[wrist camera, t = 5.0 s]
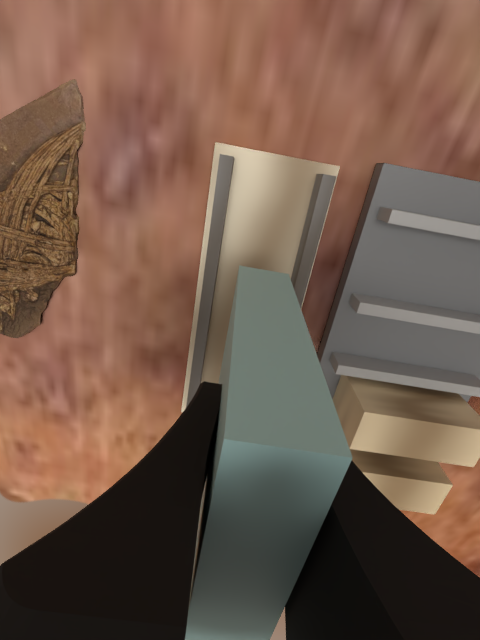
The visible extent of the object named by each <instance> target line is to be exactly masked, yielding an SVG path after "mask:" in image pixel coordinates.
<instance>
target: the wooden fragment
mask: <svg viewBox="0 0 480 640" xmlns="http://www.w3.org/2000/svg"><path fill="white" fill-rule="evenodd" d="M83 109H84V107H83V98H82V95H81V93H80V91H79V88H78V85H77V81H76V80H75V79H73V80H71V81H69V82H67V83H65V84H63V85H61V86H59V87H58V88H56V89H54V90H52V91H51V92H49V93H47V94H46V95H44V96H42V97H40V98H38V99H37V100H34V101H33V102H30V103H29V104H27V105H25V106H23V107H21V108H19V109H18V110H16V111H14V112H13V113H11V114H9V115H7V116H5V117H4V118H2V119H1V120H0V334H3V335H6V336H9V337H13V338H19V337H22V336H23V335H25V334H27V333H29V332H30V331H32V330H33V329H34V328H35V327H37V326H38V325H40V323H41V321H40V318H41V313H42V312H43V311H44V310H45V308H46V306H47V302H48V300H49V298H50V296H51V293H52V291H53V290H54V289H56V288H57V286H58V285H59V283H60V281H61V280H62V279H63V278H64V277H66V276H73V275H75V273H76V263H77V259H78V248H77V240H78V234H79V225H78V224H79V217H78V216H77V214H76V207H77V204H78V189H77V187H78V183H77V178H78V174H77V166H78V157H77V149H78V148H79V146H80V145H81V144H82V143H83V135H84V131H85V122H84V111H83Z"/></svg>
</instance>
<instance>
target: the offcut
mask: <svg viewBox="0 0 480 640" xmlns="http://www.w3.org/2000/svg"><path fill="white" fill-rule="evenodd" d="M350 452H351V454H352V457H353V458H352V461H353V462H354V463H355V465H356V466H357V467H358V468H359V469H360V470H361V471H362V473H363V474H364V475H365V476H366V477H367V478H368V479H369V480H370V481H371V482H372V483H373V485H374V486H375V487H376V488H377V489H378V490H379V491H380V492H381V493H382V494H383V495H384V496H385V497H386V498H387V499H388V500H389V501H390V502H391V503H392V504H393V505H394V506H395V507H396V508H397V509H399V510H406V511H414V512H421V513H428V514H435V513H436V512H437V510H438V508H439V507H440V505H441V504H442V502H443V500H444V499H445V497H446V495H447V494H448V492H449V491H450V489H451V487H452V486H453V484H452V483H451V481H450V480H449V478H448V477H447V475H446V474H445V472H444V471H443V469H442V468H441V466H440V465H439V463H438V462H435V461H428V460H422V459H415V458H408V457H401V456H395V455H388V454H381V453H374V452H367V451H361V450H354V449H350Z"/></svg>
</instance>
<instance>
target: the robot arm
mask: <svg viewBox="0 0 480 640" xmlns="http://www.w3.org/2000/svg"><path fill="white" fill-rule="evenodd" d="M221 391H222V384H218V383H211V382H205V381H204V382H202V383H200V385H199V387H198V389H197V391H196V393H195V395H194V397H193V398H192V400H191V401H190V403H189V404H188V406H187V407H186V409H185V410H184V412H183V413H182V414H181V416H180V417H179V418H178V420H177V421H176V422H175V423H174V425H173V426H172V427H171V428H170V429H169V431H168V432H167V433H166V434H165V435H164V436H163V438H162V439H161V440H160V441H159V442H158V443H157V444H156V445H155V447H154V448H153V449H152V450H151V451H150V452H149V453H148V454H147V455H146V456H145V457H144V458H143V459H142V460H141V461H140V462H139V463H138V464H137V465H136V466H134V467H133V468H132V469H131V470H130V471H129V472H128V473H127V474H126V475H124V476H123V477H122V478H121V479H120V480H119V481H118V482H116V483H115V484H114V485H113V486H112V487H111V488H109V489H108V490H107V491H106V492H104V493H103V494H102V495H101V496H99V497H98V498H97V499H95V500H94V501H93V502H91V503H90V504H89V505H87V506H86V507H85V508H84V509H82V510H81V511H80V512H78V513H77V514H76V515H74V516H73V517H72V518H70V519H69V520H68V521H66V522H65V523H63V524H62V525H60V526H59V527H58V528H56V529H55V530H53V531H52V532H50V533H48V534H47V535H46V536H44V537H42V538H41V539H39V540H38V541H36V542H35V543H33V544H32V545H30V546H29V547H27V548H25V549H24V550H23V551H21V552H19V553H18V554H16V555H15V556H13V557H12V558H10V559H8V560H7V561H5V562H4V563H2V564H1V566H0V640H185V635H186V627H187V618H188V609H189V600H190V591H191V583H192V574H193V565H194V557H195V548H196V540H197V532H198V523H199V515H200V507H201V499H202V495H203V491H204V486H205V482H206V478H207V473H208V468H209V462H210V457H211V452H212V446H213V441H214V435H215V430H216V425H217V419H218V414H219V408H220V403H221ZM285 617H286V640H480V578H479V577H478V576H477V575H475V574H474V573H473V572H472V571H470V570H469V569H468V568H466V567H465V566H464V565H463V564H461V563H460V562H459V561H458V560H456V559H455V558H454V557H452V556H451V555H450V554H449V553H448V552H446V551H445V550H444V549H443V548H442V547H440V546H439V545H438V544H437V543H435V542H434V541H433V540H432V539H431V538H430V537H428V536H427V535H426V534H425V533H424V532H423V531H422V530H421V529H419V528H418V527H417V526H416V525H415V524H414V523H413V522H412V521H410V520H409V519H408V518H407V517H406V516H405V515H404V514H403V513H402V512H401V511H400V510H399V509H397V508H396V507H395V506H394V505H393V504H392V503H391V502H390V501H389V500H388V499H387V498H386V497H385V496H384V495H383V494H382V493H381V492H380V491H379V490H378V489H377V488H376V487H375V486H374V485H373V483H372V482H371V481H370V480H369V479H368V478H367V477H366V476H365V475H364V474H363V473H362V471H361V470H360V469H359V468H358V467H357V466H356V465H355V463H354V462H353V461H352V460H351V463H350V465H349V467H348V469H347V471H346V474H345V476H344V478H343V480H342V482H341V485H340V487H339V489H338V491H337V493H336V495H335V498H334V500H333V502H332V504H331V506H330V509H329V511H328V513H327V515H326V517H325V520H324V522H323V524H322V526H321V528H320V531H319V533H318V535H317V537H316V539H315V542H314V544H313V546H312V548H311V550H310V552H309V555H308V557H307V559H306V561H305V563H304V566H303V568H302V570H301V572H300V574H299V577H298V579H297V581H296V583H295V585H294V588H293V590H292V592H291V594H290V596H289V598H288V601H287V603H286V605H285Z"/></svg>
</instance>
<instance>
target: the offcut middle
mask: <svg viewBox="0 0 480 640" xmlns="http://www.w3.org/2000/svg"><path fill="white" fill-rule="evenodd" d="M332 400H333V403H334V406H335V408H336V411H337V414H338V417H339V420H340V423H341V426H342V429H343V431H344V434H345V437H346V440H347V443H348V446H349V449H354V450H361V451H367V452H374V453H381V454H388V455H395V456H401V457H408V458H415V459H422V460H428V461H435V462H442V463H449V464H456V465H462V466H469V467H474V466H475V464H476V462H477V461H478V459H479V458H480V415H479V414H478V413H477V412H476V411H475V410H474V409H473V408H472V407H471V406H470V405H469V404H468V403H467V402H466V401H465V400H464V399H463V398H462V397H461V396H460V395H459V394H458V393H452V392H445V391H439V390H433V389H427V388H420V387H414V386H408V385H402V384H395V383H389V382H383V381H377V380H370V379H364V378H358V377H352V376H345V375H341V377H340V380H339V383H338V385H337V388H336V391H335V394H334V397H333V399H332Z"/></svg>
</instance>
